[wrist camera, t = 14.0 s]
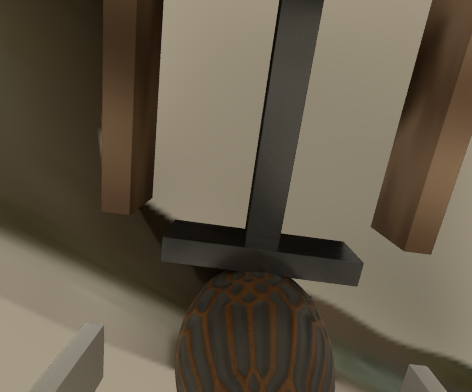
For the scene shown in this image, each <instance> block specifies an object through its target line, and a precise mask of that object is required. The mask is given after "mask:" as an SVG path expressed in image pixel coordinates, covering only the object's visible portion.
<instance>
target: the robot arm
mask: <svg viewBox="0 0 472 392" xmlns="http://www.w3.org/2000/svg"><path fill="white" fill-rule="evenodd" d="M103 355H104V324H96V323H89V322H86V323H85V324H84V325H83V326H82V328H81V329H80V330H79V331H78V333H77V334H76V335H75V336H74V337H73V339H72V340H71V341H70V342H69V343H68V345H67V346H66V347H65V348H64V349H63V351H62V352H61V353H60V354H59V355H58V357H57V358H56V359H55V360H54V361H53V363H52V364H51V365H50V366H49V367H48V369H47V370H46V371H45V372H44V373H43V375H42V376H41V377H40V378H39V379H38V381H37V382H36V383H35V384H34V385H33V387H32V388H31V389H30V390H29V391H28V392H95V390H96V388H97V387H98V385H99V383H100V381H101V380H102V378H103ZM400 392H447V391H446V390H445V389H444V387H443V386H442V385H441V384H440V382H439V381H438V380H437V379H436V377H435V376H434V375H433V373H432V372H431V371H430V370H429V368H428V367H427V366H419V365H412V364H409V366H408V369H407V372H406V375H405V378H404V381H403V384H402V387H401V390H400Z"/></svg>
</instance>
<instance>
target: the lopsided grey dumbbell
mask: <svg viewBox="0 0 472 392" xmlns="http://www.w3.org/2000/svg"><path fill="white" fill-rule="evenodd" d="M323 2H324V0H279V7H278V14H277V20H276V27H275V33H274V40H273V47H272V53H271V60H270V67H269V73H268V80H267V87H266V93H265V101H264V107H263V113H262V120H261V127H260V133H259V140H258V147H257V153H256V160H255V167H254V174H253V180H252V187H251V194H250V201H249V207H248V214H247V221H246V227H245V229H242V228H235V227H226V226H220V225H212V224H204V223H197V222H189V221H182V220H175V221H174V222H173V223H172V225H171V226H170V227H169V229H168V230H167V232H166V233H165V234H164V236H163V237H162V250H161V261H164V262H171V263H179V264H187V265H195V266H202V267H210V268H218V269H225V270H233V271H241V272H263V273H269V274H273V275H277V276H280V277H287V278H295V279H303V280H311V281H318V282H326V283H334V284H342V285H349V286H358V282H359V279H360V275H361V271H362V268H363V264H364V263H363V262H362V261H361V260H360V259H359V258H358V257H357V256H356V254H354V252H353V251H352V250H351V249H350V248H349V247H348V246H347V245H346V244H345V243H344V242H341V241H334V240H326V239H319V238H311V237H304V236H296V235H288V234H281V229H282V224H283V219H284V213H285V207H286V202H287V197H288V192H289V186H290V181H291V175H292V170H293V165H294V159H295V154H296V148H297V143H298V138H299V132H300V127H301V121H302V116H303V110H304V105H305V100H306V94H307V89H308V84H309V78H310V73H311V67H312V61H313V56H314V51H315V46H316V40H317V35H318V30H319V24H320V19H321V13H322V8H323Z"/></svg>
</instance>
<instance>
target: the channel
mask: <svg viewBox="0 0 472 392" xmlns="http://www.w3.org/2000/svg"><path fill="white" fill-rule="evenodd" d="M163 1H164V0H103V92H102V205H101V211H102V212H110V213H117V214H125V215H130V214H131V213H133V212H134V211H135V210H137V209H138V208H139V207H141V206H142V205H143V204H145V203H146V202H147V201H149V200H150V199H151V198H152V194H153V176H154V159H155V140H156V123H157V105H158V88H159V71H160V53H161V35H162V19H163ZM471 135H472V0H433V1H432V4H431V8H430V11H429V15H428V19H427V22H426V26H425V30H424V33H423V37H422V41H421V45H420V48H419V52H418V55H417V59H416V63H415V66H414V70H413V74H412V78H411V81H410V85H409V89H408V92H407V96H406V99H405V103H404V107H403V110H402V114H401V118H400V121H399V125H398V129H397V133H396V136H395V140H394V144H393V148H392V151H391V155H390V158H389V162H388V166H387V169H386V173H385V177H384V180H383V184H382V188H381V191H380V195H379V199H378V203H377V206H376V210H375V213H374V217H373V221H372V224H371V227H372V228H373V229H375V230H376V231H377V232H379V233H380V234H381V235H383V236H384V237H385V238H387V239H388V240H390V241H391V242H392V243H394V244H395V245H396V246H398V247H399V248H400V249H402V250H403V251H407V252H415V253H422V254H431V253H432V250H433V247H434V244H435V241H436V238H437V235H438V232H439V229H440V227H441V224H442V221H443V218H444V215H445V212H446V209H447V206H448V203H449V200H450V197H451V194H452V191H453V188H454V185H455V182H456V179H457V177H458V174H459V171H460V168H461V165H462V162H463V159H464V156H465V153H466V150H467V147H468V144H469V141H470V138H471Z"/></svg>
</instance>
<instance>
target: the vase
mask: <svg viewBox="0 0 472 392" xmlns="http://www.w3.org/2000/svg"><path fill="white" fill-rule="evenodd" d="M175 375H176V376H175V377H176V387H177V392H334V390H335V368H334V358H333V351H332V346H331V342H330V338H329V335H328V332H327V329H326V327H325V324H324V322H323V320H322V317H321V315H320V313H319V311H318V310H317V308H316V306H315V304H314V303H313V301H312V300H311V298H310V297H309V296H308V294H307V293H306V292H305V291H304V290H303V289H302V288H301V287H300V286H299V285H298V284H297V283H296V282H295V281H294V280H292V279H291V278H287V277H280V276H277V275H273V274H269V273H263V272H241V271H233V270H225V271H223V272H221V273H219V274H218V275H216V276H215V277H213V278H212V279H211V280H209V281H208V282H207V283H206V284H205V285H204V286H203V287H202V289H201V290H200V291H199V292H198V293H197V295H196V296H195V298H194V299H193V301H192V302H191V304H190V306H189V308H188V310H187V313H186V315H185V317H184V320H183V323H182V326H181V329H180V332H179V336H178V341H177V347H176V355H175Z"/></svg>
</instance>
